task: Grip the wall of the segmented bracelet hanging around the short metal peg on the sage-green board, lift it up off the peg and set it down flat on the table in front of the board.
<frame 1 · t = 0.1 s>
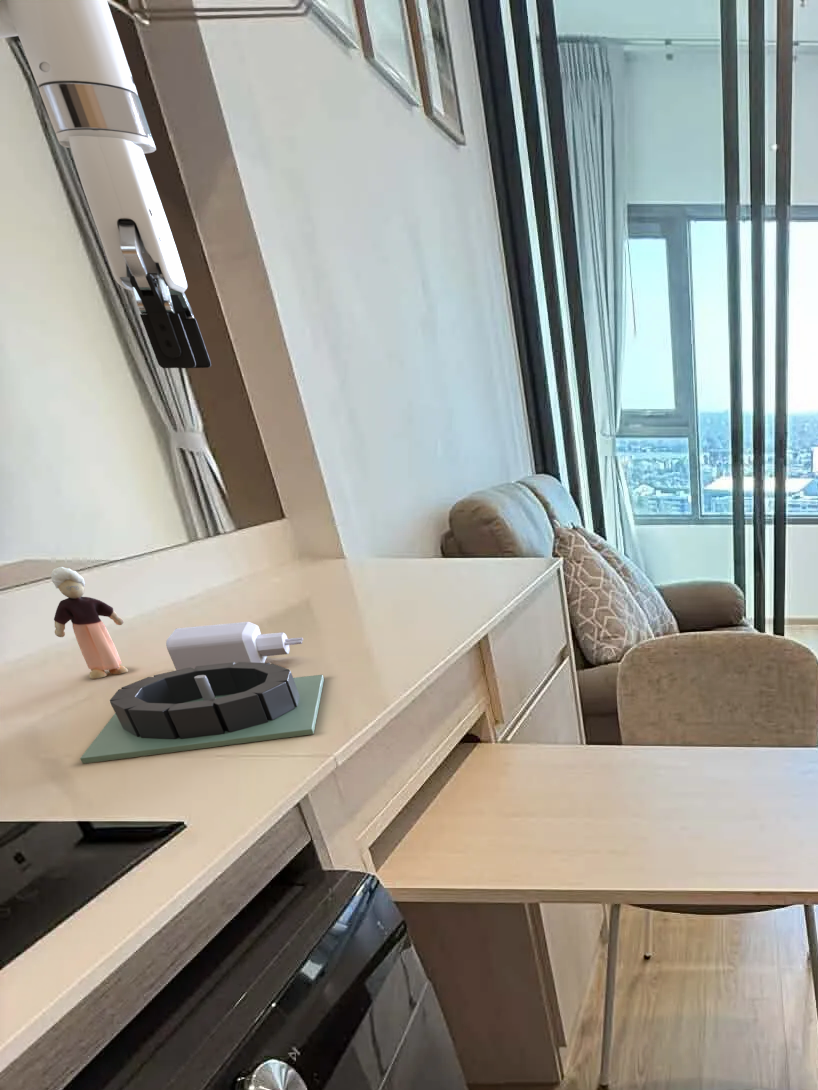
hand: (187, 367, 85), 32 cm above the counter, tool pointing down, fingers open, 9 cm apart
segmented bracelet: (214, 711, 97), point 1 cm above the counter, touching peg board
charger: (249, 667, 114), on the counter
grandmother figurine: (113, 674, 112), on the counter
peg board: (217, 716, 97), on the counter
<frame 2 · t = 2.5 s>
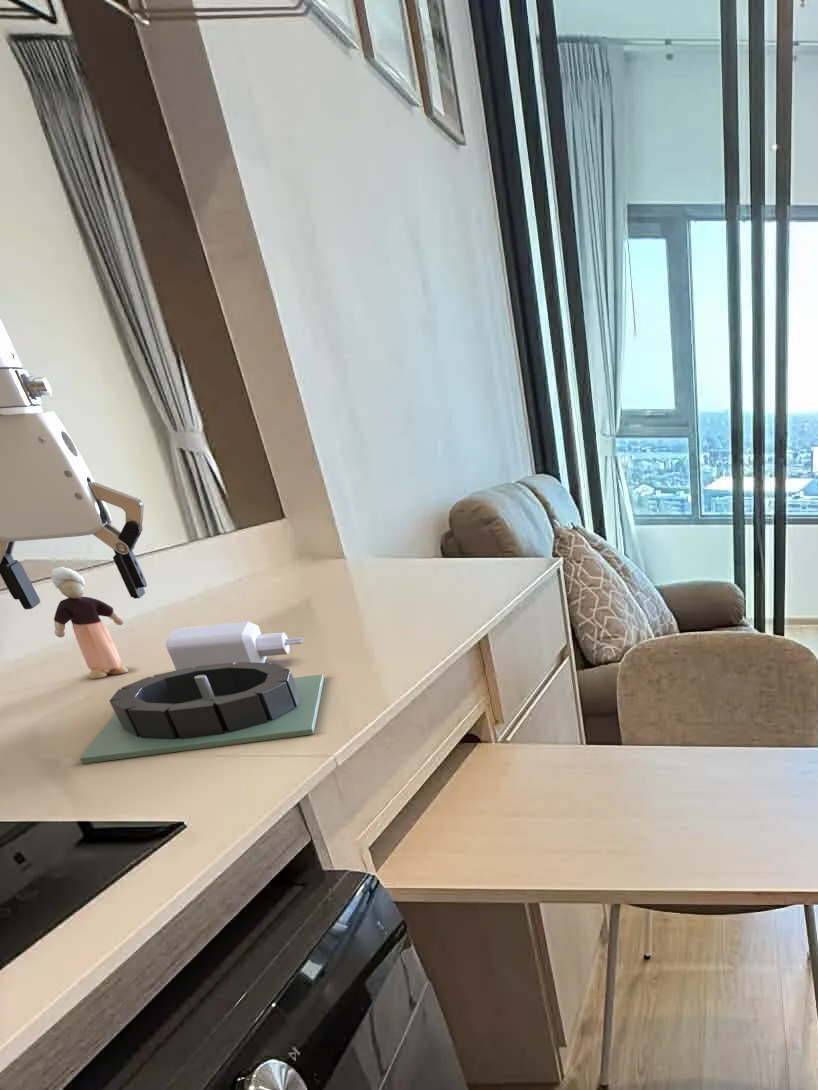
hand: (86, 601, 87), 13 cm above the counter, tool pointing down, fingers open, 9 cm apart
nothing on the counter moved.
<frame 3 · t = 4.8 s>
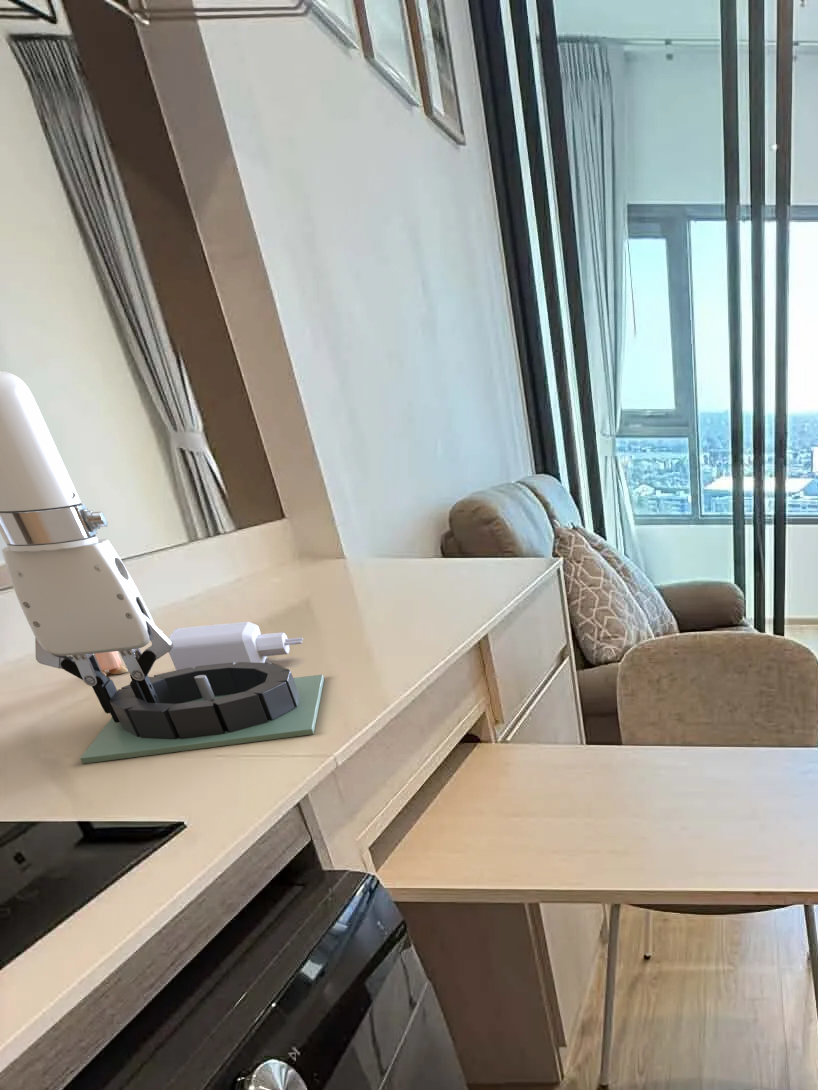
hand: (136, 715, 94), 1 cm above the counter, tool pointing down, fingers closed on segmented bracelet, 2 cm apart
segmented bracelet: (214, 711, 97), point 1 cm above the counter, touching gripper, peg board
everything else where it was.
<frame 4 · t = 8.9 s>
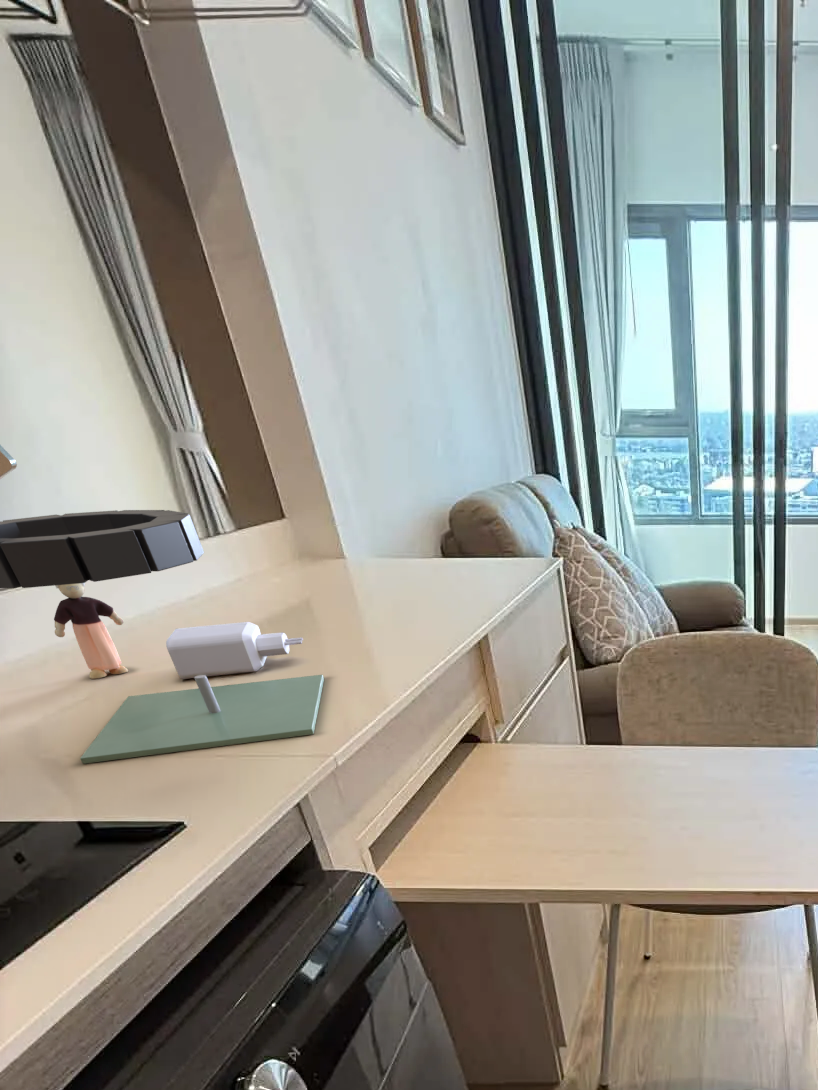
segmented bracelet: (83, 566, 71), point 19 cm above the counter, touching gripper
everything else where it was.
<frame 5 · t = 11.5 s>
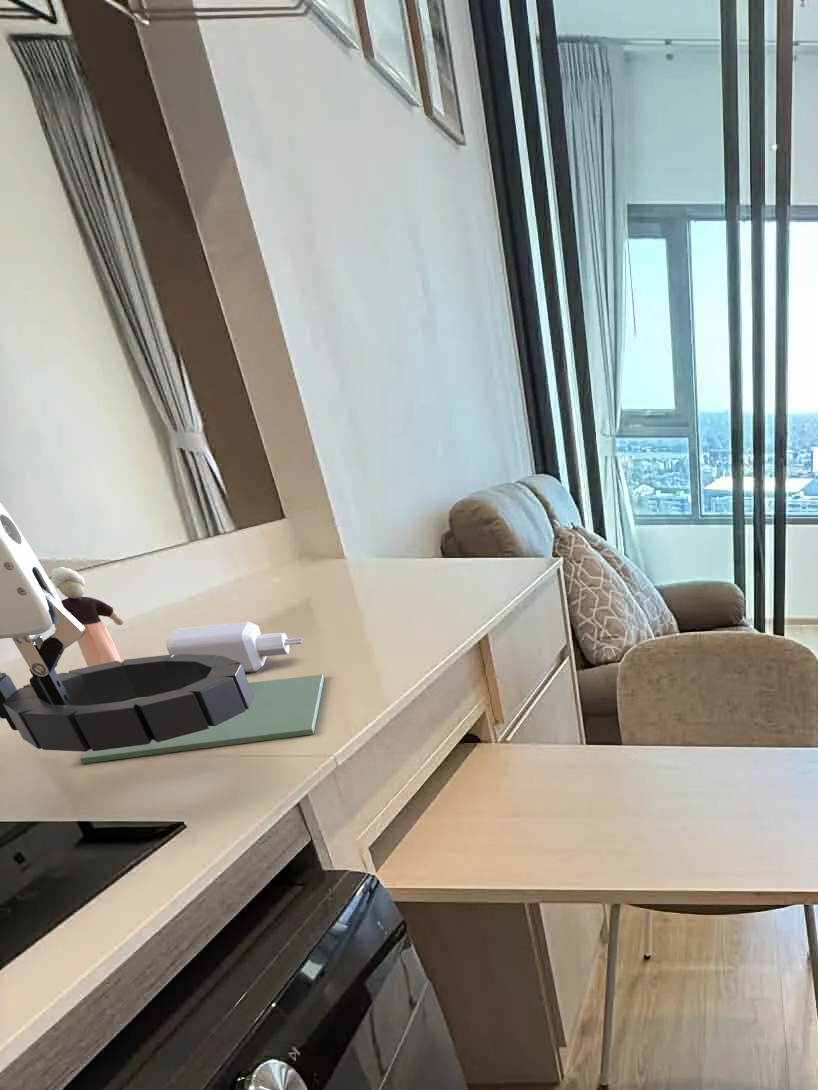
hand: (42, 721, 74), 7 cm above the counter, tool pointing down, fingers closed on segmented bracelet, 2 cm apart
segmented bracelet: (144, 715, 76), point 7 cm above the counter, touching gripper
everything else where it was.
when the fingers open (1 cm above the counter, at t = 13.3 s): segmented bracelet stays where it is, on the counter.
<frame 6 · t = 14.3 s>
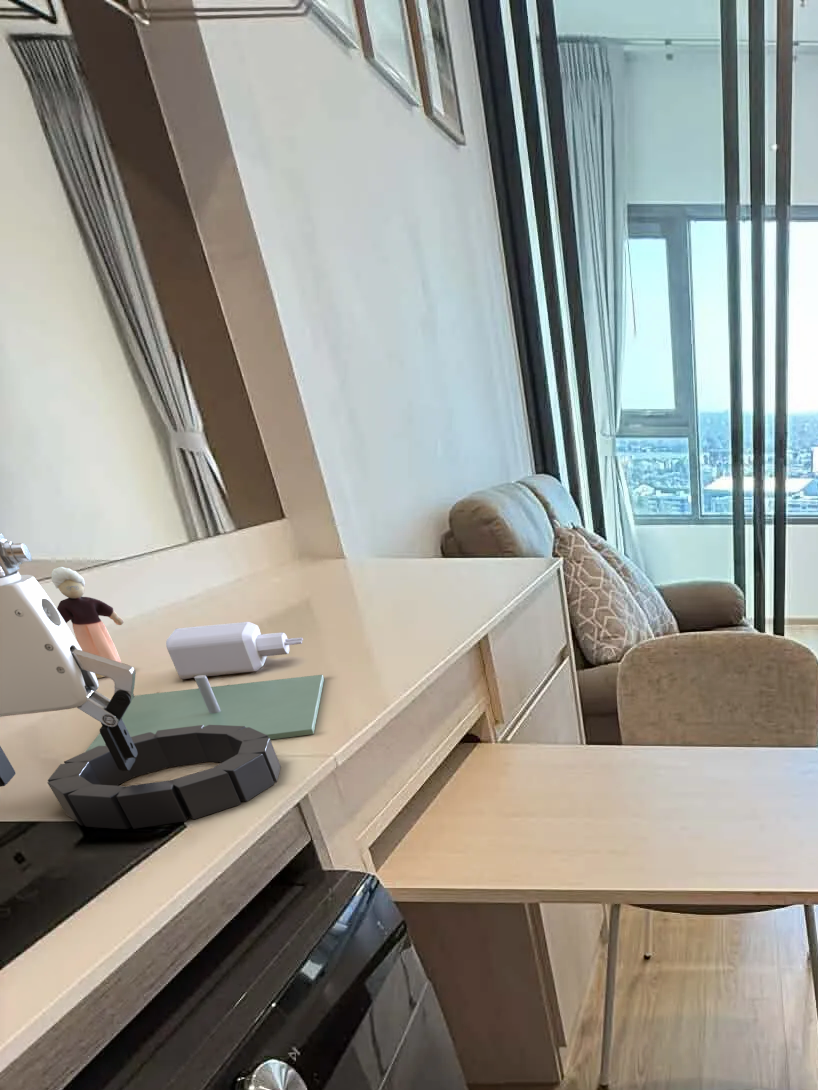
hand: (68, 773, 77), 3 cm above the counter, tool pointing down, fingers open, 9 cm apart
segmented bracelet: (178, 788, 81), on the counter
everything else where it was.
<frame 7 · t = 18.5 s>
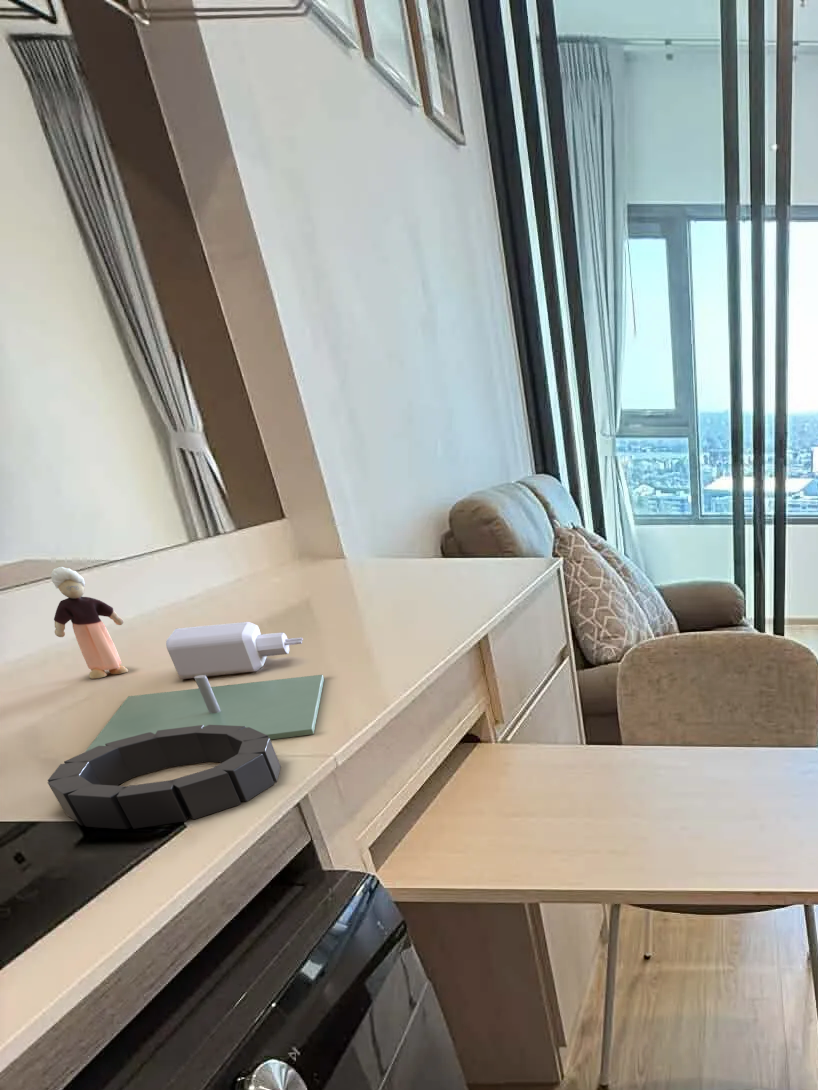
nothing on the counter moved.
at the end: segmented bracelet inside the target area (0.1 cm from its centre), on the counter; the gripper is holding nothing; segmented bracelet tilted 0° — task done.
